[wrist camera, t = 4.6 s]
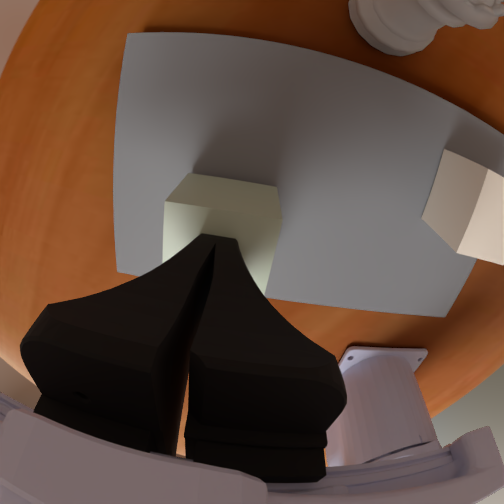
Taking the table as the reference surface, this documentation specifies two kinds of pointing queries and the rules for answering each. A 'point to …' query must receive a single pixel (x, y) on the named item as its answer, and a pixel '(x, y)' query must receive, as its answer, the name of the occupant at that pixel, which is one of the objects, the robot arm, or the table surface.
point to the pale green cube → (225, 219)
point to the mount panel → (296, 164)
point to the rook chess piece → (417, 20)
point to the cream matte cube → (468, 208)
